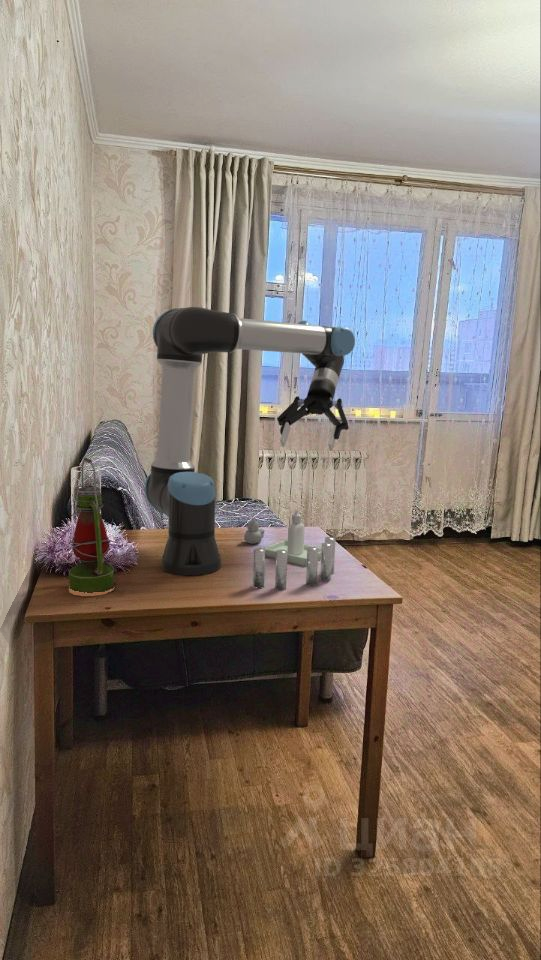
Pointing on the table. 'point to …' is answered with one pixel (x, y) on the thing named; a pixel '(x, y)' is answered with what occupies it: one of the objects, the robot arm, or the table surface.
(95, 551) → the lantern
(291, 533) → the eye dropper bottle
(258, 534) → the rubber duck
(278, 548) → the tray
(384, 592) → the table surface
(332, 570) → the spacers
